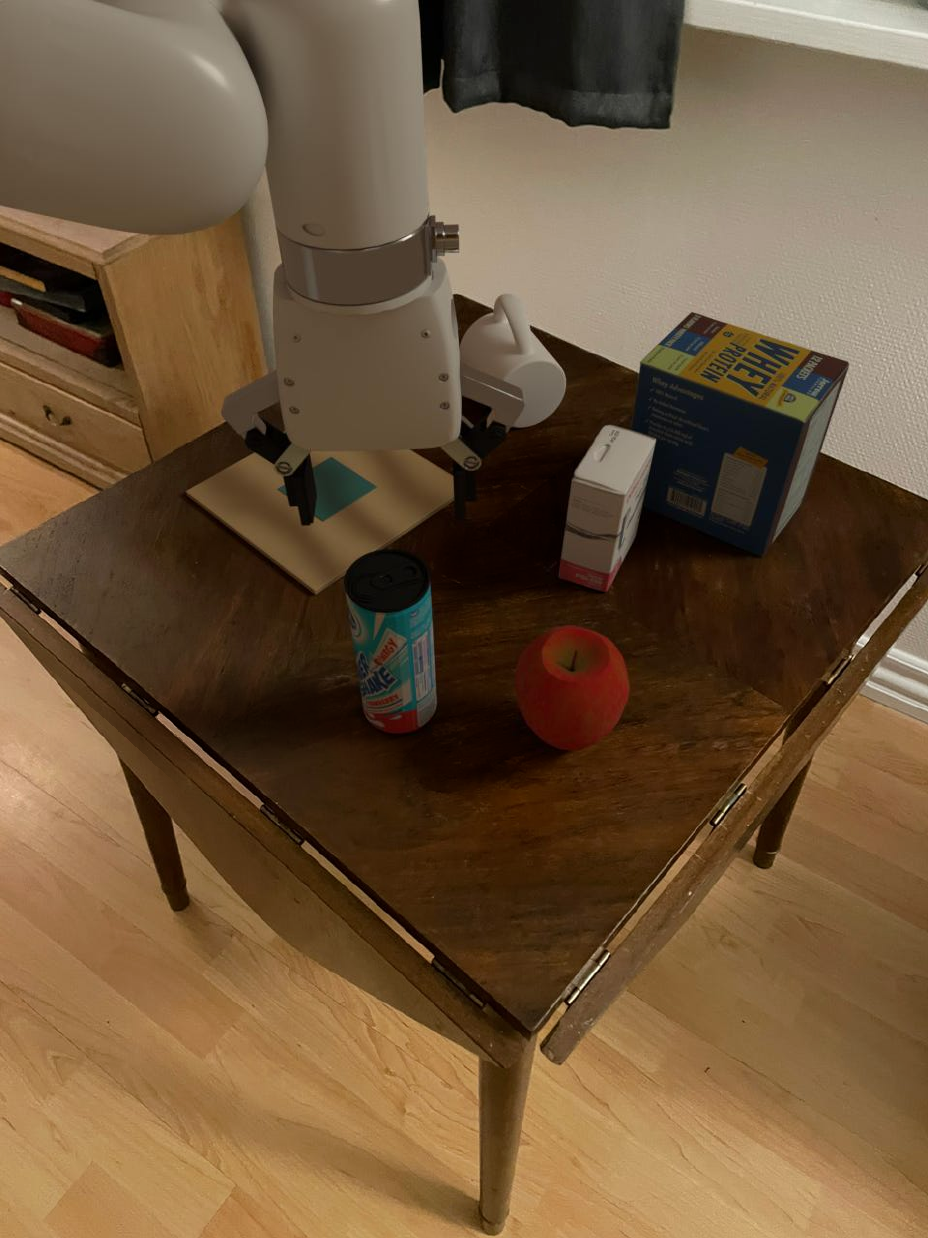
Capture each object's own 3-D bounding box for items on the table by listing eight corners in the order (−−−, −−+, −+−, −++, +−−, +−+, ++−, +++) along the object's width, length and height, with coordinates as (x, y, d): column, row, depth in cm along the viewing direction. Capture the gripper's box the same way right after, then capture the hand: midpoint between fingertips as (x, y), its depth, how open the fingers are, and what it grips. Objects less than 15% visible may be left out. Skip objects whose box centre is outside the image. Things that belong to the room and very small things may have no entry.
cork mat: (315, 595, 84) (314, 589, 83) (186, 495, 93) (185, 490, 92) (469, 490, 93) (469, 484, 93) (338, 409, 103) (337, 404, 102)
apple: (490, 722, 74) (491, 632, 66) (576, 677, 77) (587, 586, 69) (552, 802, 69) (562, 715, 61) (642, 751, 72) (662, 662, 64)
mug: (493, 436, 99) (495, 335, 90) (458, 384, 105) (457, 285, 97) (564, 419, 101) (572, 318, 92) (525, 369, 107) (530, 270, 99)
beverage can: (357, 688, 76) (337, 556, 65) (428, 673, 77) (419, 541, 66) (371, 746, 73) (351, 617, 61) (445, 730, 74) (439, 600, 62)
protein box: (665, 444, 98) (690, 309, 86) (806, 499, 92) (853, 361, 80) (616, 498, 92) (636, 360, 81) (763, 560, 86) (807, 421, 75)
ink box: (609, 596, 83) (625, 494, 74) (556, 579, 85) (566, 477, 76) (640, 536, 88) (658, 433, 80) (589, 521, 90) (602, 419, 81)
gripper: (524, 212, 49) (517, 468, 62) (197, 221, 49) (257, 475, 62) (533, 283, 44) (524, 546, 57) (169, 294, 44) (241, 553, 57)
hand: (385, 508), depth 59 cm, fingers open, 9 cm apart
